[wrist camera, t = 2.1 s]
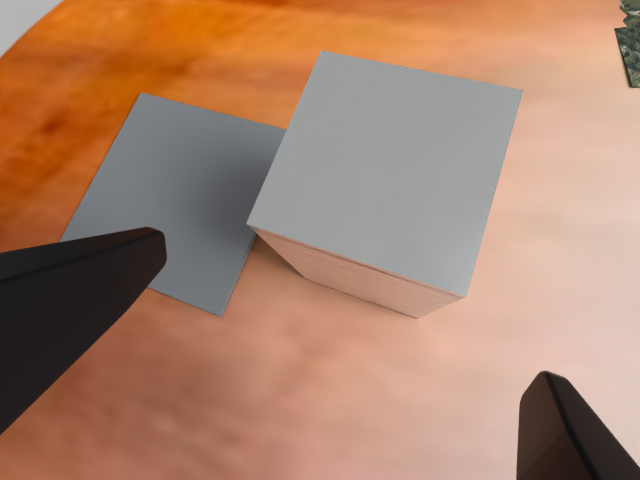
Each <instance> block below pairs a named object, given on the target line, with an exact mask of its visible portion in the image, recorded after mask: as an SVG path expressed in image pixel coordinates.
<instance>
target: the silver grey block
mask: <svg viewBox="0 0 640 480" xmlns="http://www.w3.org/2000/svg"><path fill="white" fill-rule="evenodd" d="M522 92H523V90H520V89H515V88H510V87H505V86H500V85H495V84H490V83H484V82H479V81H474V80H469V79H464V78H459V77H454V76H449V75H444V74H438V73H433V72H428V71H423V70H418V69H413V68H408V67H403V66H398V65H392V64H387V63H382V62H377V61H372V60H367V59H362V58H357V57H352V56H346V55H341V54H336V53H331V52H326V51H321V52H320V54H319V56H318V59H317V61H316V63H315V66H314V68H313V70H312V73H311V75H310V77H309V79H308V82H307V84H306V86H305V89H304V91H303V93H302V96H301V98H300V100H299V103H298V105H297V107H296V110H295V112H294V114H293V117H292V119H291V121H290V123H289V126H288V128H287V130H286V133H285V135H284V137H283V140H282V142H281V144H280V147H279V149H278V151H277V154H276V156H275V158H274V160H273V163H272V165H271V167H270V170H269V172H268V174H267V177H266V179H265V181H264V184H263V186H262V188H261V191H260V193H259V195H258V197H257V200H256V202H255V204H254V207H253V209H252V211H251V214H250V216H249V218H248V221H247V223H246V224H247V225H248V226H249V227H250V228H251V229H252V230H253V231H255V232H256V233H257V234H258V235H259V236H260V237H261V238H262V239H263V240H264V241H265V242H267V243H268V244H269V245H270V246H271V247H272V248H273V249H274V250H275V251H276V252H277V253H278V254H280V255H281V256H282V257H283V258H284V259H285V260H286V261H287V262H288V263H289V264H290V265H292V266H293V267H294V268H295V269H296V270H297V271H298V272H299V273H300V274H301V275H302V276H304V277H305V278H306V279H307V280H310V281H313V282H316V283H319V284H321V285H324V286H327V287H330V288H333V289H335V290H338V291H341V292H344V293H347V294H350V295H352V296H355V297H358V298H361V299H364V300H366V301H369V302H372V303H375V304H378V305H380V306H383V307H386V308H389V309H392V310H395V311H397V312H400V313H403V314H406V315H409V316H411V317H414V318H417V319H419V318H421V317H423V316H425V315H428V314H430V313H432V312H434V311H436V310H438V309H440V308H443V307H445V306H447V305H449V304H451V303H453V302H456V301H458V300H460V299H462V298H464V297H466V295H467V291H468V288H469V284H470V281H471V277H472V273H473V270H474V266H475V262H476V259H477V255H478V252H479V248H480V244H481V241H482V237H483V233H484V230H485V226H486V223H487V219H488V215H489V212H490V208H491V205H492V201H493V197H494V194H495V190H496V186H497V183H498V179H499V176H500V172H501V168H502V165H503V161H504V157H505V154H506V150H507V147H508V143H509V139H510V136H511V132H512V129H513V125H514V121H515V118H516V114H517V110H518V107H519V103H520V100H521V96H522Z"/></svg>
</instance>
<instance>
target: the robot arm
mask: <svg viewBox="0 0 640 480" xmlns="http://www.w3.org/2000/svg"><path fill="white" fill-rule="evenodd" d="M166 261H167V251H166V241H165V235H164V233H163V232H162V231H160V230H157V229H154V228H152V227H142V228H136V229H131V230H125V231H119V232H114V233H108V234H103V235H97V236H92V237H86V238H80V239H75V240H69V241H64V242H58V243H53V244H47V245H41V246H36V247H30V248H25V249H19V250H14V251H8V252H2V253H0V435H1V434H2V433H3V432H4V431H5V430H6V429H7V428H8V427H9V426H10V425H11V424H12V423H13V422H14V421H15V420H16V419H17V418H18V417H20V416H21V415H22V414H23V413H24V412H25V411H26V410H27V409H28V408H29V407H30V406H31V405H32V404H33V403H34V402H35V401H36V400H37V399H38V398H39V397H40V396H41V395H42V394H43V393H44V392H45V391H46V390H47V389H48V388H49V387H50V386H51V385H52V384H53V383H54V382H55V381H56V380H57V379H58V378H59V377H60V376H61V375H62V374H63V373H64V372H65V371H66V370H67V369H68V368H69V367H70V366H71V365H72V364H73V363H74V362H75V361H77V360H78V359H79V358H80V357H81V356H82V355H83V354H84V353H85V352H86V351H87V350H88V349H89V348H90V347H91V346H92V345H93V344H94V343H95V342H96V341H97V340H98V339H99V338H100V337H101V336H102V335H103V334H104V333H105V332H106V331H107V330H108V329H109V328H110V327H111V326H112V325H113V324H114V323H115V322H116V321H117V320H118V319H119V318H120V317H121V316H122V315H123V314H124V313H125V312H126V311H127V310H128V309H129V308H130V307H131V305H132V304H133V303H134V302H135V301H136V300H137V298H138V297H139V296H140V295H141V294H142V292H143V291H144V290H145V289H146V288H147V286H148V285H149V284H150V283H151V282H152V280H153V279H154V278H155V277H156V276H157V274H158V273H159V272H160V271H161V270H162V269H163V267H164V266H165V264H166ZM516 480H640V467H639V466H638V465H637V464H636V462H635V461H634V460H633V459H632V457H631V456H630V455H629V454H628V453H627V451H626V450H625V449H624V448H623V446H622V445H621V444H620V443H619V442H618V440H617V439H616V438H615V437H614V435H613V434H612V433H611V432H610V430H609V429H608V428H607V427H606V426H605V424H604V423H603V422H602V421H601V419H600V418H599V417H598V416H597V415H596V413H595V412H594V411H593V410H592V408H591V407H590V406H589V405H588V404H587V402H586V401H585V400H584V399H583V397H582V396H581V395H580V394H579V393H578V391H577V390H576V389H575V388H574V386H573V385H572V384H571V383H570V382H569V381H568V380H567V379H566V378H564V377H562V376H560V375H557V374H554V373H551V372H549V371H541V372H540V373H539V374H538V375H537V376H536V377H535V379H534V380H533V381H532V383H531V384H530V386H529V387H528V388H527V390H526V391H525V392H524V394H523V395H522V398H521V401H520V408H519V429H518V450H517V475H516Z"/></svg>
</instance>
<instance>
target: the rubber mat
mask: <svg viewBox="0 0 640 480" xmlns="http://www.w3.org/2000/svg"><path fill="white" fill-rule="evenodd" d="M285 133H286V129H282V128H278V127H274V126H270V125H266V124H262V123H258V122H254V121H251V120H247V119H243V118H239V117H235V116H231V115H227V114H223V113H219V112H215V111H211V110H208V109H204V108H200V107H196V106H192V105H188V104H184V103H180V102H176V101H172V100H168V99H165V98H161V97H157V96H153V95H149V94H145V93H140V95H139V97H138V99H137V101H136V102H135V104H134V106H133V108H132V110H131V112H130V113H129V115H128V117H127V119H126V121H125V123H124V124H123V126H122V128H121V130H120V132H119V134H118V135H117V137H116V139H115V141H114V143H113V145H112V146H111V148H110V150H109V152H108V154H107V155H106V157H105V159H104V161H103V163H102V165H101V166H100V168H99V170H98V172H97V174H96V176H95V177H94V179H93V181H92V183H91V185H90V187H89V188H88V190H87V192H86V194H85V196H84V198H83V199H82V201H81V203H80V205H79V207H78V208H77V210H76V212H75V214H74V216H73V218H72V219H71V221H70V223H69V225H68V227H67V229H66V230H65V232H64V234H63V236H62V238H61V240H60V241H59V242H64V241H69V240H75V239H80V238H86V237H92V236H97V235H103V234H108V233H114V232H119V231H125V230H131V229H136V228H142V227H152V228H154V229H157V230H160V231H162V232H163V233H164V235H165V241H166V251H167V261H166V264H165V266H164V267H163V269H162V270H161V271H160V272H159V273H158V274H157V276H156V277H155V278H154V279H153V280H152V282H151V283H150V284H149V285H148V286H147V287H148V288H151V289H153V290H156V291H158V292H161V293H163V294H166V295H168V296H171V297H173V298H175V299H178V300H180V301H183V302H185V303H188V304H190V305H193V306H195V307H198V308H200V309H203V310H205V311H208V312H210V313H212V314H215V315H217V316H223V314H224V312H225V309H226V307H227V305H228V302H229V300H230V297H231V295H232V293H233V290H234V288H235V286H236V283H237V281H238V278H239V276H240V274H241V271H242V269H243V267H244V264H245V262H246V260H247V257H248V255H249V252H250V250H251V248H252V245H253V243H254V241H255V238H256V236H257V233H256V232H255V231H253V230H252V229H251V228H250V227H249V226H248V225H247V224H246V223H247V221H248V218H249V216H250V214H251V211H252V209H253V207H254V204H255V202H256V200H257V197H258V195H259V193H260V191H261V188H262V186H263V184H264V181H265V179H266V177H267V174H268V172H269V170H270V167H271V165H272V163H273V160H274V158H275V156H276V154H277V151H278V149H279V147H280V144H281V142H282V140H283V137H284V135H285Z"/></svg>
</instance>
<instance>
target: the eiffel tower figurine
mask: <svg viewBox="0 0 640 480" xmlns="http://www.w3.org/2000/svg"><path fill="white" fill-rule="evenodd" d="M620 1H621V4H620V9H621V10H622V11H623V12H624V13H625V14H627V15H628V16H627V17H626V18H625V19H624V20H623V22H624V23H625V24H626V26H627V27H622V28H614V29H615V32H616V36H617V39H618V42H619V45H620V48H621V51H622V54H623V57H624V60H625V63H626V66H627V69H628V72H629V76H630V80H631V84H632V87H640V0H620Z"/></svg>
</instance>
